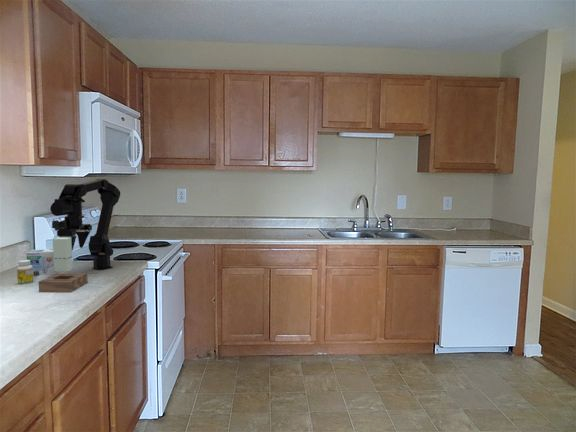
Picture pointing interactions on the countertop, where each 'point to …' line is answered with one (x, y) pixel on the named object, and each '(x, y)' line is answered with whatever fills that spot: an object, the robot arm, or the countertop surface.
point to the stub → (62, 254)
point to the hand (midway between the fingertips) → (76, 249)
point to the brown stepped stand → (63, 282)
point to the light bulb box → (41, 261)
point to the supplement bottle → (25, 272)
